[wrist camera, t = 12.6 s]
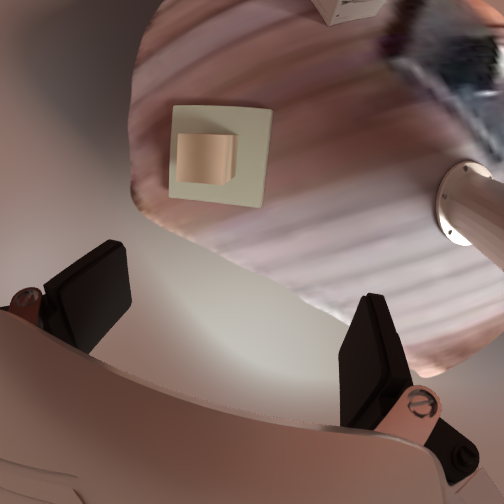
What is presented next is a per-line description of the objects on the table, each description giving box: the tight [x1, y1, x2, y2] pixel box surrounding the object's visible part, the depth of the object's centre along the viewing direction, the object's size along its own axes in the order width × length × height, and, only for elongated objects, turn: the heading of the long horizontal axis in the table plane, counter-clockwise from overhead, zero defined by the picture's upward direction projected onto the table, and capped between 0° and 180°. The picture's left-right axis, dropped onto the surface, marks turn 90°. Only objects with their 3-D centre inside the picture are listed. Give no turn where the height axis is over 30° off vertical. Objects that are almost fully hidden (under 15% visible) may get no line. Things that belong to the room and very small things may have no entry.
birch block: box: [176, 133, 239, 185], centre depth 28 cm, size 5×5×6 cm
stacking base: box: [169, 105, 273, 208], centre depth 32 cm, size 12×12×2 cm
